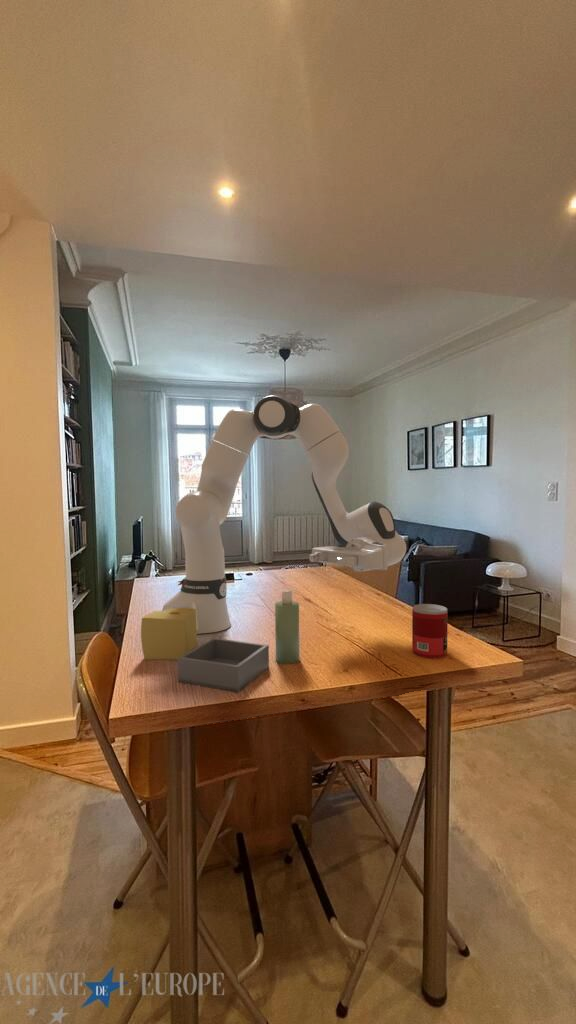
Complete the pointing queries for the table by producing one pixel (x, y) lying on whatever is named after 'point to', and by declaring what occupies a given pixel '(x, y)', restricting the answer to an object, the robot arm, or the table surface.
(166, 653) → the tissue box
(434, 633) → the canned food
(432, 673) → the table surface
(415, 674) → the table surface
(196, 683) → the box
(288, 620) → the green bottle
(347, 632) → the table surface
